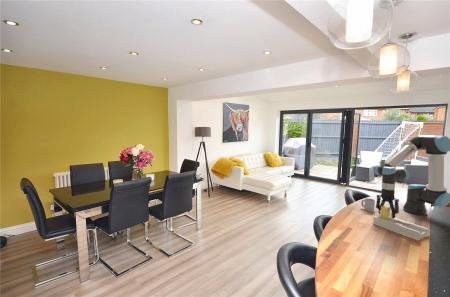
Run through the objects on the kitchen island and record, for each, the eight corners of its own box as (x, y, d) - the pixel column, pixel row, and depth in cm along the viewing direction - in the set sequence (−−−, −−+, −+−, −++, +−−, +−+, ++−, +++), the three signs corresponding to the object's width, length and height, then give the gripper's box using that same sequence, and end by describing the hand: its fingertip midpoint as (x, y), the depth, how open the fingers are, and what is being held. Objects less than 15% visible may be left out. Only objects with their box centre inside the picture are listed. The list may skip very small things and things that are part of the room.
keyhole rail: (383, 220, 169) (383, 213, 168) (428, 235, 145) (429, 228, 144) (372, 223, 162) (373, 216, 162) (417, 240, 138) (418, 232, 138)
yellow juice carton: (384, 220, 165) (385, 205, 164) (390, 222, 161) (391, 206, 160) (378, 222, 162) (380, 206, 160) (384, 224, 158) (386, 208, 157)
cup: (371, 212, 184) (372, 201, 183) (358, 208, 192) (359, 198, 191) (375, 210, 188) (376, 200, 187) (362, 206, 196) (363, 197, 195)
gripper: (370, 186, 166) (369, 216, 167) (401, 192, 148) (399, 226, 150) (376, 185, 169) (375, 215, 171) (406, 191, 152) (404, 224, 154)
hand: (386, 220), depth 160 cm, fingers open, 6 cm apart
